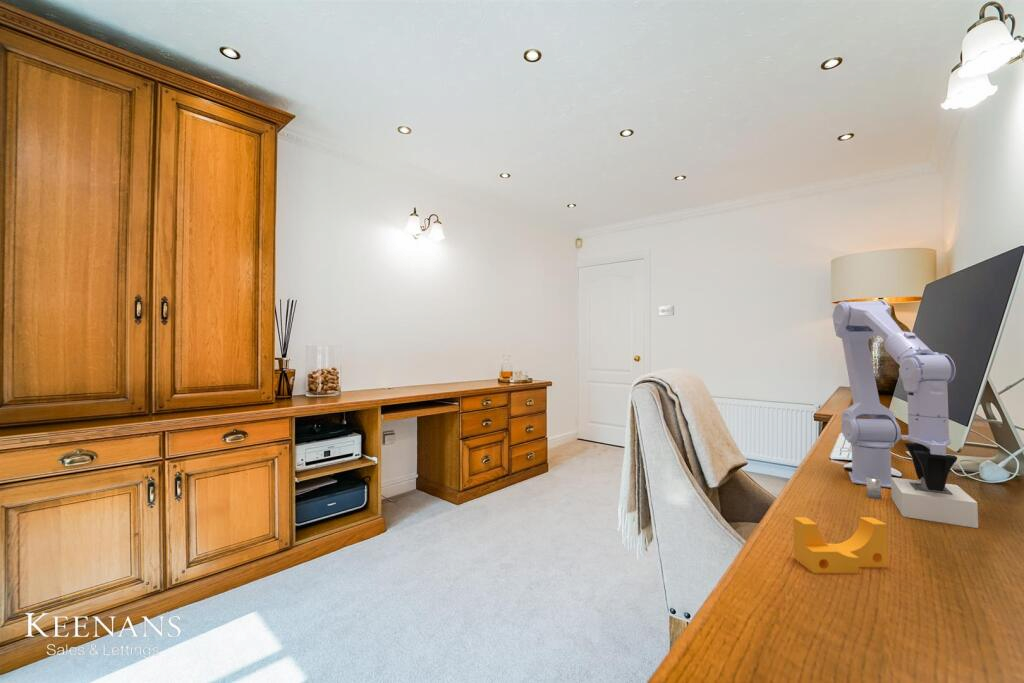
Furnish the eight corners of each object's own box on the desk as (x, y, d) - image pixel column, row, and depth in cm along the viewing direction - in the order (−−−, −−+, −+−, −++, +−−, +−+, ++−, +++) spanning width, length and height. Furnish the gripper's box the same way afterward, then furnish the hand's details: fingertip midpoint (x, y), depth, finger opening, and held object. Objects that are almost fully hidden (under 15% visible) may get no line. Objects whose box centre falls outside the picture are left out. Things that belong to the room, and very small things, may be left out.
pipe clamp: (813, 574, 61) (812, 529, 61) (794, 559, 65) (793, 517, 66) (898, 574, 61) (897, 529, 61) (873, 559, 65) (872, 517, 65)
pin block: (891, 498, 91) (890, 476, 91) (957, 507, 86) (956, 483, 86) (902, 516, 81) (902, 491, 81) (978, 528, 76) (977, 501, 76)
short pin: (866, 494, 94) (865, 476, 94) (880, 496, 92) (879, 478, 92) (867, 497, 92) (867, 479, 92) (882, 499, 90) (881, 480, 90)
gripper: (893, 409, 92) (895, 472, 92) (908, 418, 80) (910, 491, 80) (939, 411, 88) (941, 477, 88) (961, 421, 76) (963, 498, 76)
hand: (930, 484), depth 84 cm, fingers open, 7 cm apart
